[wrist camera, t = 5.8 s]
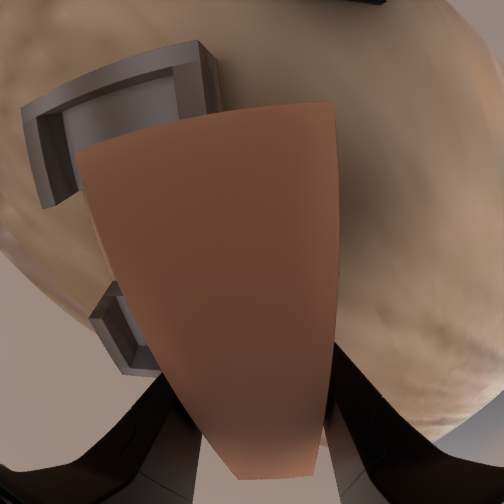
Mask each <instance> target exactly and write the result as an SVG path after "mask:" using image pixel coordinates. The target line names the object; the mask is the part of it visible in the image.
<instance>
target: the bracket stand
mask: <svg viewBox="0 0 504 504" xmlns="http://www.w3.org/2000/svg"><path fill="white" fill-rule="evenodd" d="M218 112H223V110H222V102H221V94H220V86H219V77H218V69H217V60H216V59H215V57H214V56H213V55H212V54H211V53H210V52H209V51H208V50H207V49H206V48H205V47H204V46H203V45H202V44H201V43H200V42H199V41H198V40H194V41H189V42H185V43H180V44H176V45H171V46H167V47H163V48H160V49H156V50H152V51H149V52H145V53H142V54H139V55H136V56H132V57H129V58H126V59H123V60H121V61H118V62H115V63H112V64H110V65H107V66H104V67H102V68H99V69H97V70H94V71H92V72H89V73H87V74H85V75H83V76H80V77H78V78H76V79H74V80H72V81H69V82H67V83H65V84H63V85H61V86H59V87H57V88H55V89H53V90H51V91H50V92H48V93H46V94H44V95H42V96H40V97H39V98H37V99H35V100H33V101H32V102H30V103H28V104H27V105H25V106H23V107H22V108H21V114H22V122H23V128H24V135H25V140H26V146H27V151H28V156H29V160H30V165H31V169H32V173H33V177H34V181H35V185H36V189H37V192H38V196H39V199H40V203H41V206H42V209H46V208H49V207H53V206H56V205H58V204H59V203H61V202H62V201H64V200H65V199H67V198H68V197H70V196H71V195H73V194H75V193H76V192H78V191H81V190H82V191H83V194H84V198H85V202H86V205H87V209H88V212H89V215H90V218H91V222H92V225H93V228H94V231H95V234H96V237H97V240H98V243H99V246H100V249H101V251H102V254H103V257H104V260H105V262H106V265H107V268H108V270H109V273H110V275H111V278H112V280H113V282H112V283H111V285H110V286H109V288H108V289H107V291H106V292H105V294H104V295H103V297H102V298H101V300H100V301H99V303H98V304H97V306H96V307H95V309H94V311H93V312H92V314H91V315H90V317H89V320H90V322H91V324H92V326H93V327H94V329H95V331H96V333H97V334H98V336H99V338H100V340H101V341H102V343H103V344H104V346H105V348H106V350H107V351H108V353H109V355H110V356H111V358H112V359H113V361H114V363H115V364H116V366H117V367H118V369H119V370H120V372H121V373H122V375H132V376H142V377H154V378H157V377H158V376H159V375H160V374H161V372H162V370H161V369H160V367H159V365H158V363H157V361H156V360H155V358H154V356H153V354H152V352H151V351H150V349H149V347H148V345H147V343H146V341H145V339H144V337H143V335H142V334H141V332H140V330H139V328H138V326H137V324H136V322H135V320H134V317H133V315H132V313H131V311H130V309H129V307H128V305H127V303H126V301H125V298H124V296H123V294H122V292H121V289H120V287H119V285H118V282H117V280H116V278H115V275H114V273H113V271H112V268H111V266H110V263H109V261H108V258H107V256H106V253H105V250H104V248H103V245H102V242H101V240H100V237H99V234H98V231H97V228H96V225H95V222H94V219H93V216H92V213H91V210H90V207H89V204H88V201H87V197H86V194H85V191H84V187H83V184H82V180H81V176H80V172H79V169H78V165H77V161H76V157H75V151H77V150H80V149H83V148H85V147H88V146H91V145H94V144H97V143H99V142H102V141H105V140H108V139H112V138H115V137H118V136H121V135H124V134H128V133H131V132H135V131H138V130H142V129H145V128H149V127H153V126H157V125H161V124H165V123H169V122H173V121H178V120H182V119H187V118H192V117H197V116H202V115H207V114H213V113H218Z"/></svg>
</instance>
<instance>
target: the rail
mask: <svg viewBox="0 0 504 504" xmlns="http://www.w3.org/2000/svg"><path fill="white" fill-rule="evenodd" d="M75 157H76V161H77V165H78V169H79V172H80V176H81V180H82V184H83V187H84V191H85V194H86V197H87V201H88V204H89V207H90V210H91V213H92V216H93V219H94V222H95V225H96V228H97V231H98V234H99V237H100V240H101V242H102V245H103V248H104V250H105V253H106V256H107V258H108V261H109V263H110V266H111V268H112V271H113V273H114V275H115V278H116V280H117V282H118V285H119V287H120V289H121V292H122V294H123V296H124V298H125V301H126V303H127V305H128V307H129V309H130V311H131V313H132V315H133V317H134V320H135V322H136V324H137V326H138V328H139V330H140V332H141V334H142V335H143V337H144V339H145V341H146V343H147V345H148V347H149V349H150V351H151V352H152V354H153V356H154V358H155V360H156V361H157V363H158V365H159V367H160V369H161V370H162V372H163V374H164V375H165V377H166V379H167V380H168V382H169V384H170V385H171V387H172V389H173V390H174V392H175V394H176V395H177V397H178V398H179V400H180V401H181V403H182V405H183V406H184V408H185V409H186V411H187V412H188V414H189V415H190V417H191V418H192V420H193V421H194V422H195V424H196V425H197V427H198V428H199V430H200V431H201V432H202V434H203V435H204V437H205V438H206V439H207V440H208V442H209V443H210V445H211V446H212V447H213V449H214V450H215V451H216V453H217V454H218V455H219V457H220V458H221V459H222V460H223V462H224V463H225V464H226V465H227V467H228V468H229V469H230V470H231V472H232V473H233V474H234V475H235V476H236V478H237V479H238V480H253V479H256V480H257V479H280V478H294V477H304V476H312V475H313V473H314V468H315V464H316V459H317V454H318V449H319V444H320V439H321V433H322V427H323V422H324V416H325V409H326V403H327V396H328V389H329V382H330V374H331V365H332V356H333V347H334V336H335V325H336V311H337V296H338V275H339V234H340V214H339V173H338V153H337V138H336V125H335V114H334V103H333V102H310V103H293V104H281V105H270V106H261V107H252V108H245V109H238V110H231V111H224V112H218V113H213V114H207V115H202V116H197V117H192V118H187V119H182V120H178V121H173V122H169V123H165V124H161V125H157V126H153V127H149V128H145V129H142V130H138V131H135V132H131V133H128V134H124V135H121V136H118V137H115V138H112V139H108V140H105V141H102V142H99V143H97V144H94V145H91V146H88V147H85V148H83V149H80V150H77V151H75Z"/></svg>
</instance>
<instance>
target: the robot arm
mask: <svg viewBox="0 0 504 504" xmlns="http://www.w3.org/2000/svg"><path fill="white" fill-rule="evenodd" d="M350 1H358V2H365V3H371V4H377V5H382V4H384V3H385V2H386V1H387V0H350ZM323 426H324V430H325V434H326V438H327V443H328V447H329V451H330V456H331V460H332V464H333V469H334V473H335V477H336V482H337V487H338V492H339V496H340V501H341V504H504V467H497V466H491V465H486V464H482V463H477V462H473V461H469V460H465V459H461V458H457V457H453V456H451V455H448V454H446V453H444V452H443V451H441V450H440V449H438V448H437V447H436V446H435V445H433V444H432V443H431V442H430V441H429V440H428V439H426V438H425V437H424V436H423V435H422V434H421V433H419V432H418V431H417V430H416V429H415V428H414V427H412V426H411V425H410V424H409V423H408V422H407V421H406V420H405V419H404V418H403V417H401V416H400V415H399V414H398V412H397V411H396V410H395V409H394V408H393V407H392V406H391V405H390V404H389V403H388V402H387V400H386V399H385V398H384V397H383V398H382V395H381V394H380V393H379V391H378V390H377V389H376V388H375V387H374V386H373V385H372V383H371V382H370V381H369V380H368V379H367V378H366V377H365V375H364V374H363V373H362V372H361V371H360V370H359V369H358V368H357V366H356V365H355V364H354V363H353V362H352V361H351V360H350V358H349V357H348V356H347V355H346V354H345V353H344V352H343V350H342V349H341V348H340V347H339V346H338V345H337V344H336V343H335V341H334V347H333V356H332V365H331V374H330V382H329V389H328V396H327V403H326V409H325V416H324V422H323ZM201 439H202V432H201V431H200V430H199V428H198V427H197V425H196V424H195V422H194V421H193V420H192V418H191V417H190V415H189V414H188V412H187V411H186V409H185V408H184V406H183V405H182V403H181V401H180V400H179V398H178V397H177V395H176V394H175V392H174V390H173V389H172V387H171V385H170V384H169V382H168V380H167V379H166V377H165V375H164V374H163V372H161V374H160V375H159V376H158V377H157V378H156V379H155V381H154V382H153V383H152V384H151V385H150V386H149V388H148V389H147V390H146V391H145V392H144V393H143V395H142V396H141V397H140V398H139V399H138V400H137V401H136V403H135V404H134V405H133V406H132V407H131V410H129V411H128V412H127V413H126V414H125V415H124V416H123V417H122V419H121V420H120V421H119V422H118V423H117V424H116V425H115V426H114V427H113V428H112V429H111V430H110V431H109V432H108V433H107V434H106V435H105V436H104V437H103V438H101V439H100V440H99V441H98V442H97V443H96V444H95V445H94V446H93V447H91V448H90V449H89V450H88V451H87V452H86V453H85V454H84V455H82V456H81V457H80V458H79V459H77V460H75V461H73V462H71V463H69V464H65V465H60V466H56V467H50V468H45V469H40V470H34V471H27V472H15V471H12V470H10V469H9V468H7V467H6V466H4V465H2V464H0V504H192V501H193V495H194V487H195V480H196V473H197V466H198V459H199V452H200V446H201Z"/></svg>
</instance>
